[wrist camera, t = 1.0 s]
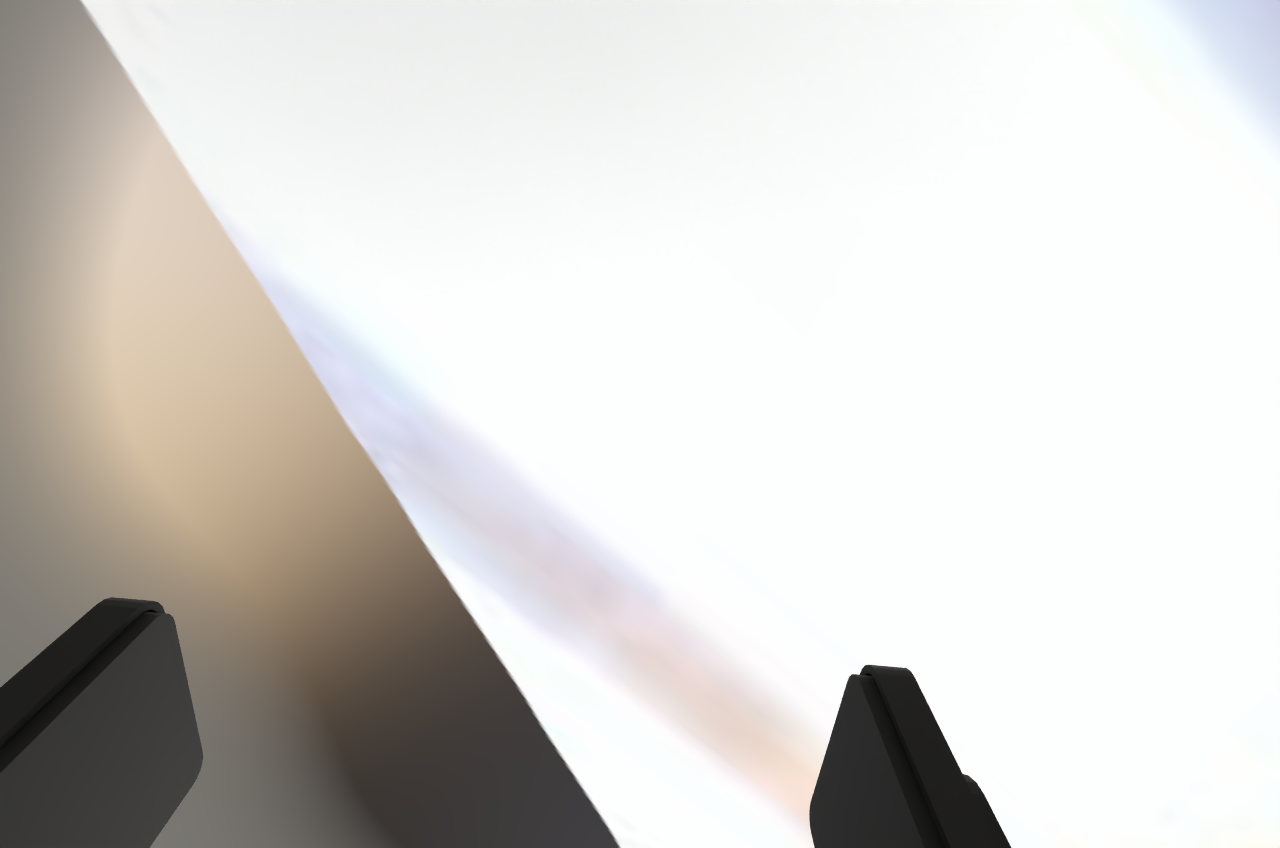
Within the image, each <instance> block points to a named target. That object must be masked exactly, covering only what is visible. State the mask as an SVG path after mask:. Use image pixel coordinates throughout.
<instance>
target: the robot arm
mask: <svg viewBox="0 0 1280 848" xmlns="http://www.w3.org/2000/svg"><path fill="white" fill-rule="evenodd" d="M202 760H203V752H202V747H201V742H200V738H199V733H198V728H197V723H196V719H195V714H194V709H193V705H192V700H191V695H190V691H189V686H188V681H187V677H186V672H185V667H184V663H183V658H182V653H181V649H180V644H179V639H178V635H177V631H176V625H175V622H174V619H173V617H172V616H171V615H170V614H166V613H165V612H164V609H163V607H162V605H160V604H159V603H158V602H155V601H146V600H135V599H124V598H108V599H104V600H103V601H102V602H100V603H98V604H97V605H96V606H94V607H93V608H92V609H91V610H90V611H89V612H87V613H86V614H85V615H84V616H83V617H82V618H81V619H79V620H78V621H77V622H76V623H75V624H74V625H72V626H71V627H70V628H69V629H68V630H67V631H66V632H64V633H63V634H62V635H61V636H60V637H59V638H57V639H56V640H55V641H54V642H53V643H52V644H50V645H49V646H48V647H47V648H46V649H45V650H44V651H42V652H41V653H40V654H39V655H38V656H36V658H34V659H33V660H32V661H31V662H30V663H28V664H27V665H26V666H25V667H24V668H23V669H21V670H20V671H19V672H18V673H17V674H16V675H15V676H13V677H12V678H11V679H10V680H9V681H8V682H6V683H5V684H4V685H3V686H2V687H1V688H0V848H150V846H151V845H152V843H153V842H154V840H155V839H156V837H157V836H158V834H159V833H160V832H161V830H162V829H163V827H164V825H165V824H166V823H167V822H168V820H169V819H170V817H171V816H172V814H173V813H174V811H175V810H176V809H177V807H178V806H179V804H180V803H181V801H182V800H183V798H184V797H185V795H186V794H187V793H188V791H189V790H190V788H191V787H192V785H193V784H194V782H195V780H196V779H197V777H198V774H199V772H200V769H201V765H202ZM810 828H811V834H812V838H813V842H814V846H815V848H1011V846H1010V844H1009V842H1008V840H1007V838H1006V836H1005V835H1004V833H1003V831H1002V829H1001V827H1000V825H999V823H998V821H997V819H996V817H995V815H994V813H993V811H992V809H991V807H990V805H989V803H988V801H987V799H986V797H985V795H984V794H983V792H982V791H981V789H980V788H979V786H978V784H977V783H976V782H975V781H974V780H973V779H972V778H970V777H969V776H968V775H964V774H962V772H961V770H960V768H959V766H958V764H957V762H956V760H955V758H954V756H953V754H952V752H951V750H950V748H949V746H948V744H947V742H946V740H945V738H944V736H943V734H942V732H941V730H940V728H939V726H938V724H937V722H936V720H935V718H934V716H933V714H932V712H931V709H930V707H929V705H928V703H927V701H926V699H925V697H924V695H923V693H922V691H921V689H920V687H919V685H918V683H917V681H916V679H915V677H914V676H913V674H912V673H911V671H910V670H908V669H907V668H898V667H887V666H876V665H865V666H864V667H863V668H862V671H861V673H860V675H856V674H852V675H851V676H850V677H849V679H848V681H847V685H846V688H845V691H844V695H843V698H842V701H841V704H840V708H839V711H838V714H837V718H836V721H835V724H834V727H833V731H832V734H831V737H830V741H829V744H828V747H827V750H826V754H825V757H824V760H823V764H822V767H821V770H820V773H819V777H818V780H817V783H816V787H815V790H814V793H813V796H812V800H811V804H810Z"/></svg>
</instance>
